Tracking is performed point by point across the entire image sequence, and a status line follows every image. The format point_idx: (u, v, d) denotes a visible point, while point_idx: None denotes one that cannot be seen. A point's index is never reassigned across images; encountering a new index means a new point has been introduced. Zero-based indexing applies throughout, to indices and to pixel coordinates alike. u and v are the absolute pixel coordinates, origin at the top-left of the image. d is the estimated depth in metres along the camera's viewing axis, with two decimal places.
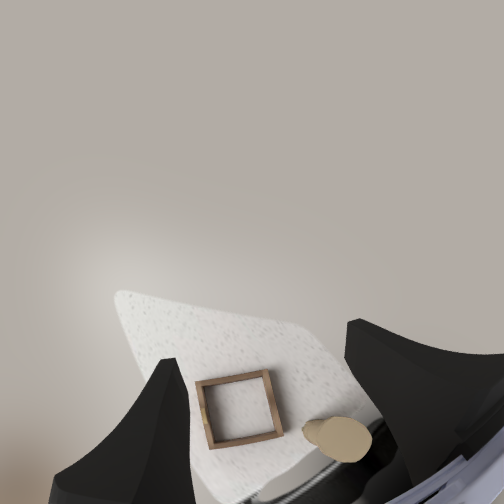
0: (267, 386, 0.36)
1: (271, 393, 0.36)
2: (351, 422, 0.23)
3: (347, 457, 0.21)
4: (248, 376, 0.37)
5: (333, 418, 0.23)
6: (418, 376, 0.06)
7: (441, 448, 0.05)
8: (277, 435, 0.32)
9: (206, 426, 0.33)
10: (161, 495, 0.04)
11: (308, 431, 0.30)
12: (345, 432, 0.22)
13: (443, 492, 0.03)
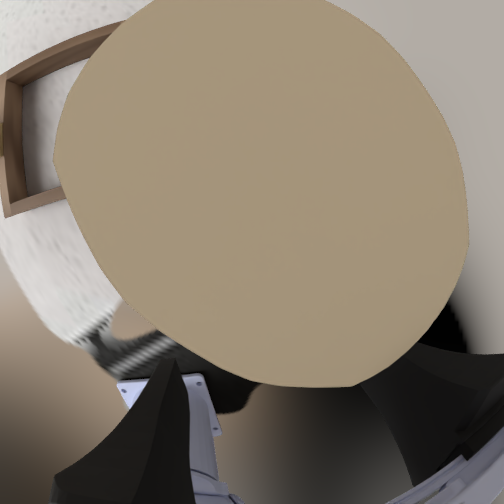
0: None
1: None
2: (386, 66, 0.03)
3: (313, 358, 0.04)
4: (88, 37, 0.10)
5: None
6: (418, 376, 0.06)
7: (441, 448, 0.05)
8: None
9: (0, 164, 0.11)
10: (161, 495, 0.04)
11: None
12: (337, 125, 0.03)
13: (443, 492, 0.03)
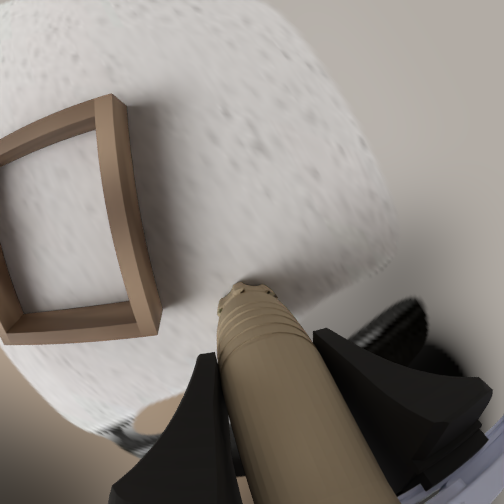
0: (103, 157, 0.09)
1: (114, 184, 0.10)
2: None
3: None
4: (52, 125, 0.08)
5: None
6: (376, 396, 0.06)
7: (400, 474, 0.04)
8: (138, 331, 0.12)
9: None
10: (227, 491, 0.04)
11: (223, 374, 0.09)
12: None
13: (443, 492, 0.03)
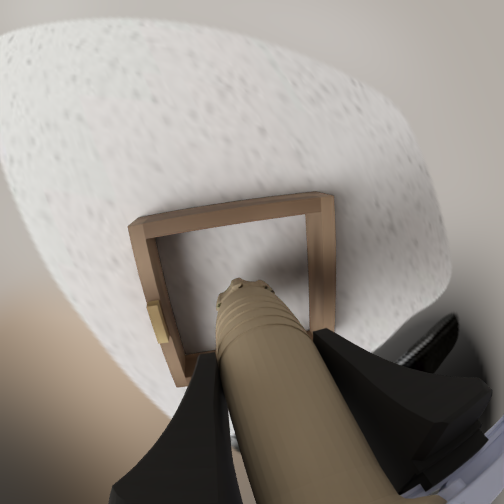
0: (326, 244, 0.15)
1: (331, 263, 0.15)
2: None
3: None
4: (282, 212, 0.14)
5: None
6: (376, 396, 0.06)
7: (399, 474, 0.04)
8: None
9: (165, 343, 0.15)
10: (228, 491, 0.04)
11: (222, 364, 0.09)
12: None
13: (443, 492, 0.03)
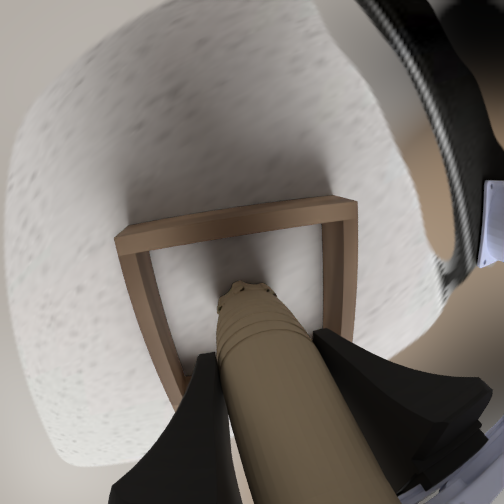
0: (176, 241, 0.11)
1: (204, 228, 0.11)
2: None
3: None
4: (142, 300, 0.11)
5: None
6: (376, 396, 0.06)
7: (400, 474, 0.04)
8: (351, 220, 0.12)
9: None
10: (227, 491, 0.04)
11: (223, 370, 0.09)
12: None
13: (443, 492, 0.03)
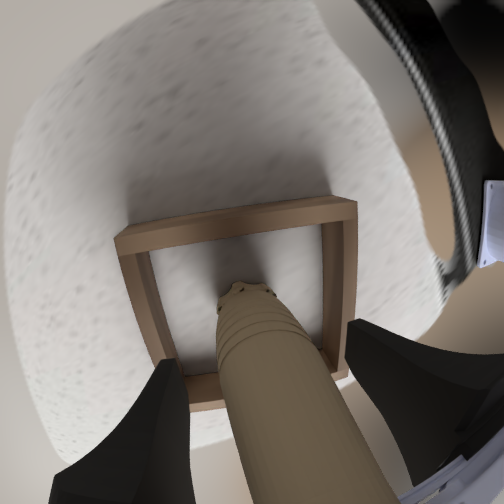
0: (176, 241, 0.11)
1: (203, 228, 0.11)
2: None
3: None
4: (142, 300, 0.11)
5: None
6: (418, 376, 0.06)
7: (441, 448, 0.05)
8: (351, 221, 0.12)
9: None
10: (161, 495, 0.04)
11: (222, 371, 0.09)
12: None
13: (443, 492, 0.03)
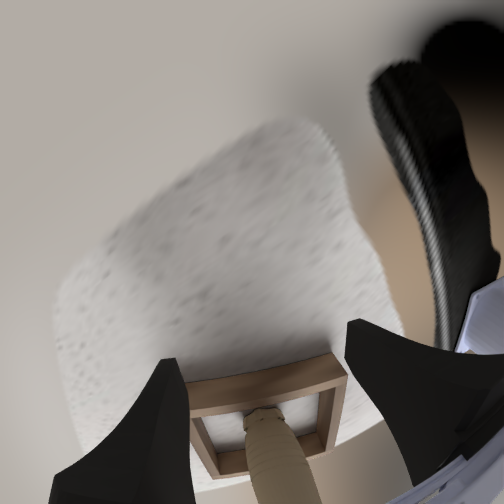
0: (220, 412, 0.14)
1: (239, 405, 0.14)
2: None
3: None
4: (196, 436, 0.15)
5: None
6: (418, 376, 0.06)
7: (441, 448, 0.05)
8: (342, 385, 0.15)
9: None
10: (161, 495, 0.04)
11: (254, 482, 0.12)
12: None
13: (443, 492, 0.03)
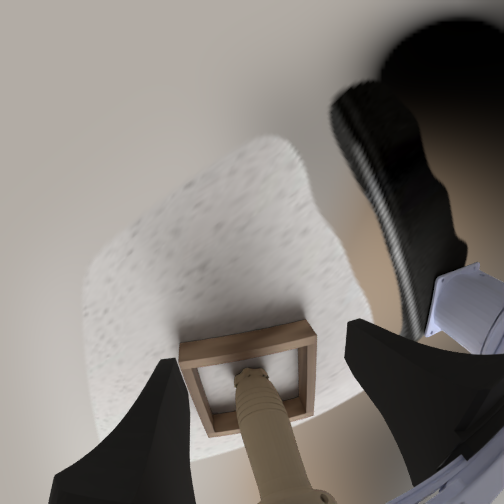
0: (214, 363, 0.19)
1: (229, 357, 0.19)
2: None
3: None
4: (194, 387, 0.20)
5: None
6: (418, 376, 0.06)
7: (441, 448, 0.05)
8: (312, 344, 0.21)
9: None
10: (161, 495, 0.04)
11: (241, 425, 0.17)
12: None
13: (443, 492, 0.03)
